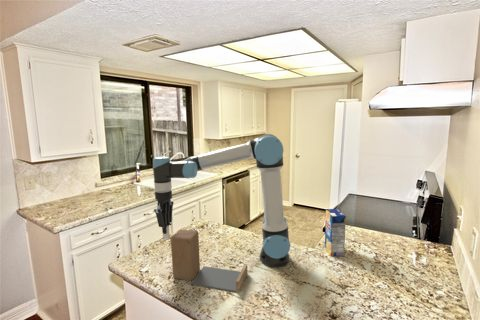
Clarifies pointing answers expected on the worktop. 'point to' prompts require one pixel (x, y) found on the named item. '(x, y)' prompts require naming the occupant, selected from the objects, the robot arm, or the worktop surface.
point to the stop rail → (241, 278)
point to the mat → (216, 278)
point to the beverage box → (335, 232)
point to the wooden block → (185, 254)
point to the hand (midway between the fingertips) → (166, 238)
